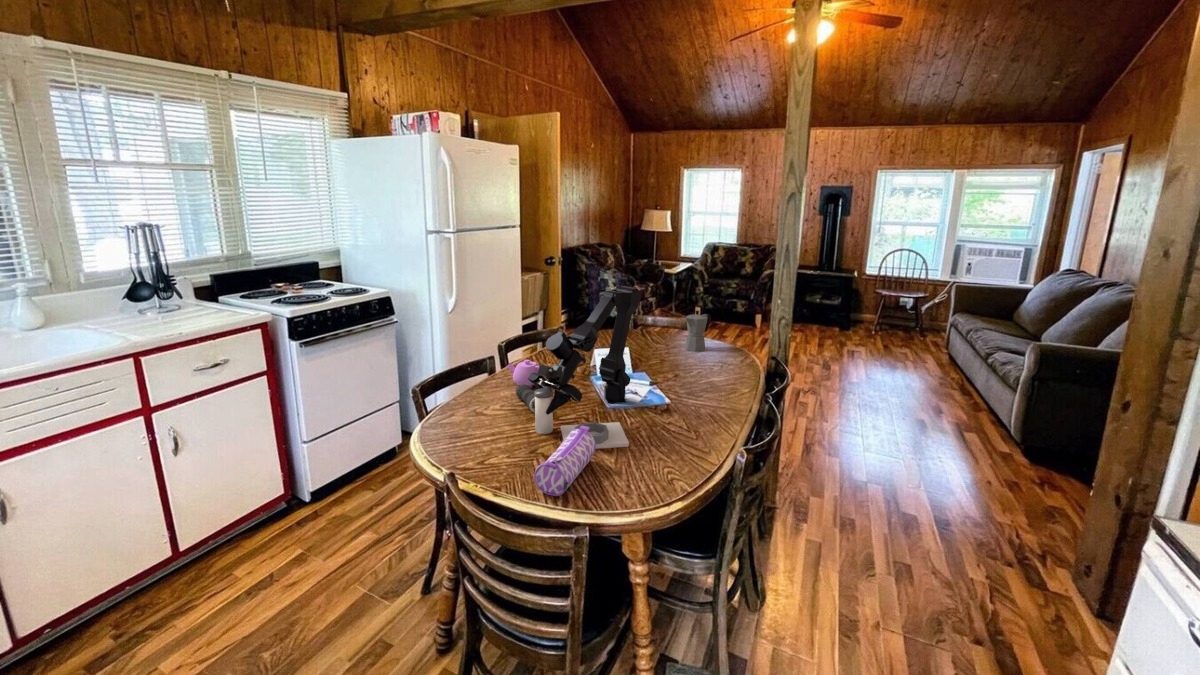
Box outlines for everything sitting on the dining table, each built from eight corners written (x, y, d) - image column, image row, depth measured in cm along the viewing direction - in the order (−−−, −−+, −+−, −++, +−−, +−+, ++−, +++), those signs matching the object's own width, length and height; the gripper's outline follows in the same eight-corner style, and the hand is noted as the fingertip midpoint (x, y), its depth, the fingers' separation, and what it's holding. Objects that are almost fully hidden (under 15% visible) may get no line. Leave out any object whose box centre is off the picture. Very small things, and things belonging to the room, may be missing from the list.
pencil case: (566, 502, 127) (566, 466, 125) (530, 495, 130) (529, 459, 128) (597, 459, 148) (598, 427, 145) (565, 454, 150) (565, 422, 148)
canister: (552, 426, 168) (552, 387, 164) (553, 433, 162) (553, 394, 159) (534, 427, 167) (533, 388, 163) (535, 434, 162) (534, 395, 158)
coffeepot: (691, 353, 242) (694, 314, 237) (677, 348, 249) (679, 310, 245) (716, 348, 251) (718, 310, 246) (701, 343, 258) (703, 306, 253)
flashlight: (514, 398, 190) (513, 383, 188) (529, 395, 192) (528, 381, 191) (530, 414, 176) (529, 398, 175) (545, 411, 179) (545, 395, 177)
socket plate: (619, 425, 168) (619, 414, 167) (628, 446, 155) (629, 434, 154) (560, 429, 165) (560, 418, 164) (565, 450, 152) (565, 438, 151)
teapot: (535, 391, 195) (535, 367, 193) (500, 385, 201) (499, 361, 199) (550, 382, 205) (549, 358, 202) (516, 376, 210) (515, 353, 208)
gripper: (531, 347, 167) (504, 390, 162) (575, 360, 155) (547, 407, 150) (550, 365, 175) (525, 407, 170) (593, 379, 163) (568, 424, 158)
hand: (540, 411), depth 162 cm, fingers closed on canister, 5 cm apart
